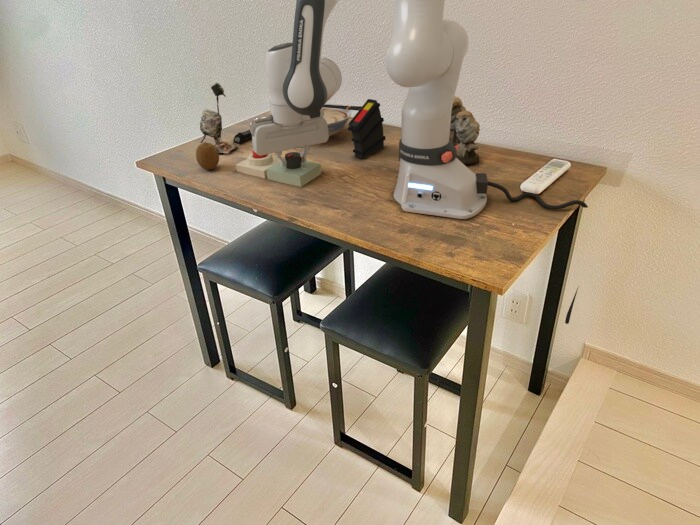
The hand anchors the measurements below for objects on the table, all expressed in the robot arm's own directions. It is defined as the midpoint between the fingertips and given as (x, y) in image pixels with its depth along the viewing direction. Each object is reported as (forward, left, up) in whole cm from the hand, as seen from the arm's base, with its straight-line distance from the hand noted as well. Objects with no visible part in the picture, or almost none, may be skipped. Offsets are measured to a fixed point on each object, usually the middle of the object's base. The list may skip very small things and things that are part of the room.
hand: (293, 163), depth 139 cm
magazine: (-9, -23, -4) cm, 25 cm away
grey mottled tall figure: (+33, -5, -4) cm, 33 cm away
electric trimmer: (+31, -19, -4) cm, 36 cm away
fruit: (+25, +7, -4) cm, 26 cm away
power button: (+11, 0, 0) cm, 12 cm away
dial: (0, 0, -1) cm, 1 cm away
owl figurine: (-31, -31, -4) cm, 44 cm away
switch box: (+12, 0, -4) cm, 12 cm away
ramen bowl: (+13, -29, -4) cm, 32 cm away
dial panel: (0, 0, -4) cm, 4 cm away
